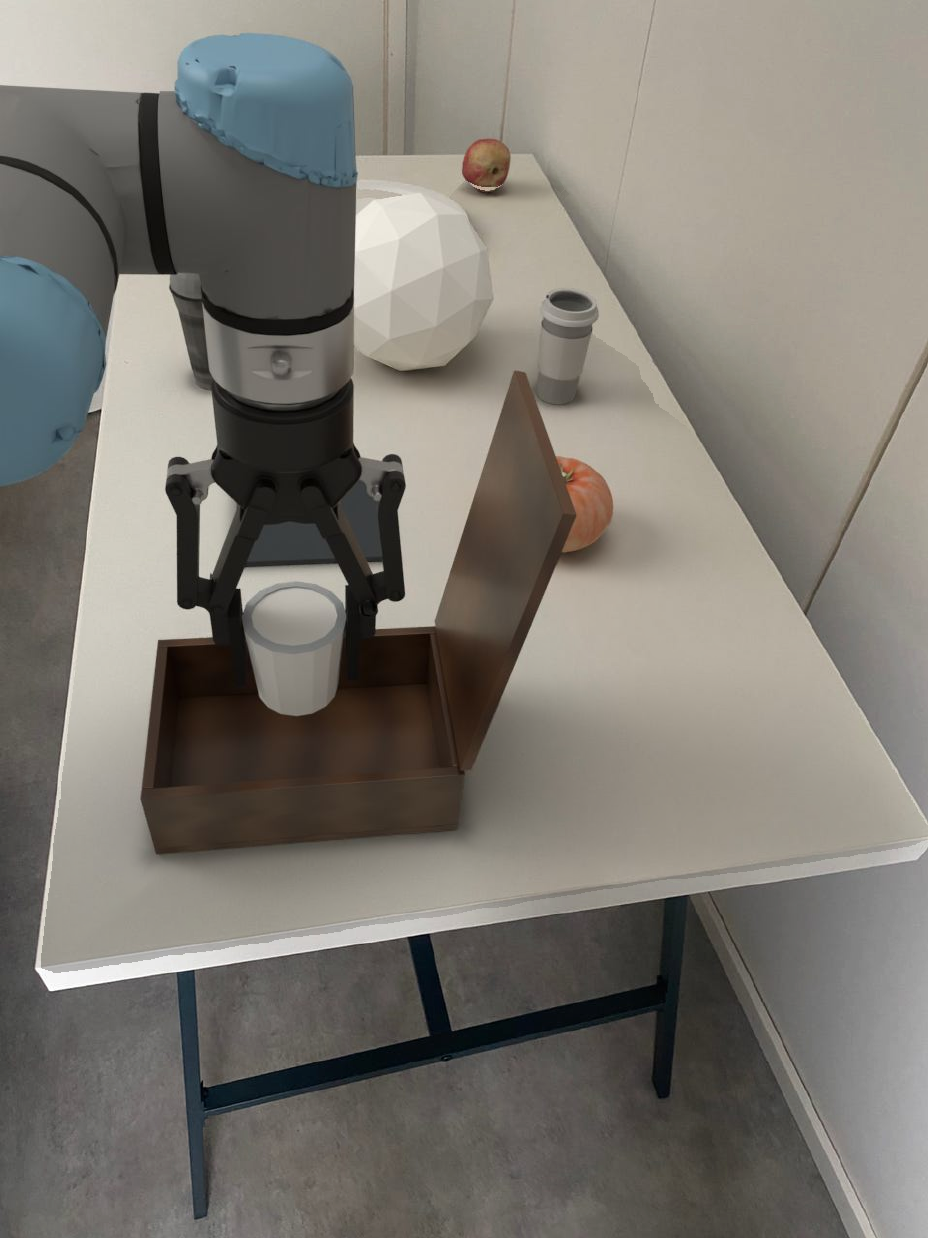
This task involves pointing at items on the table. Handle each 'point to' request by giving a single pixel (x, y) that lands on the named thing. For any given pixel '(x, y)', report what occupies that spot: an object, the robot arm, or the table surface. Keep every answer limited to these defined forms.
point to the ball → (417, 282)
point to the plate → (401, 189)
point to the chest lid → (501, 566)
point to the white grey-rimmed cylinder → (295, 645)
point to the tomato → (586, 502)
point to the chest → (299, 750)
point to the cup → (564, 342)
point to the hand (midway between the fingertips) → (296, 668)
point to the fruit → (486, 163)
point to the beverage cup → (192, 323)
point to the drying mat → (319, 535)
